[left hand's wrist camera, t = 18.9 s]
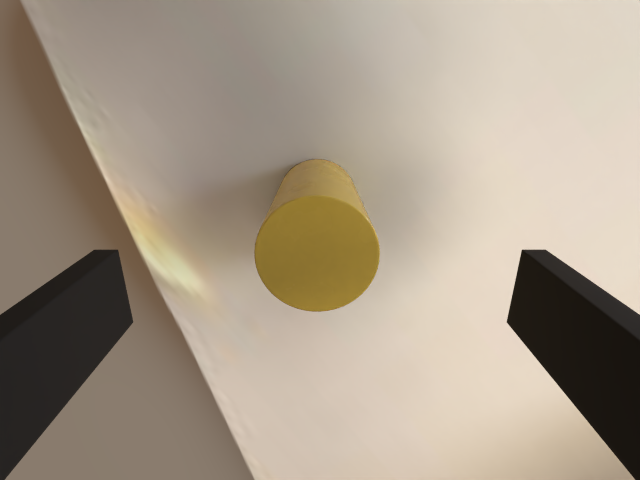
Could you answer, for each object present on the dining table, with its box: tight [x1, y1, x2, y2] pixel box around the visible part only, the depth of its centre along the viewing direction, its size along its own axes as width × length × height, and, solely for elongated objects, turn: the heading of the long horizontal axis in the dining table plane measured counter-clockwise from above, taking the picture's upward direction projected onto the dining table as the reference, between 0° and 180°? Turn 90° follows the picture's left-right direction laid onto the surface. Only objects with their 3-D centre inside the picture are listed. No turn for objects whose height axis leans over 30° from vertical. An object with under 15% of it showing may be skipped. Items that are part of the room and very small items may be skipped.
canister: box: [255, 159, 380, 311], centre depth 22 cm, size 6×6×11 cm
